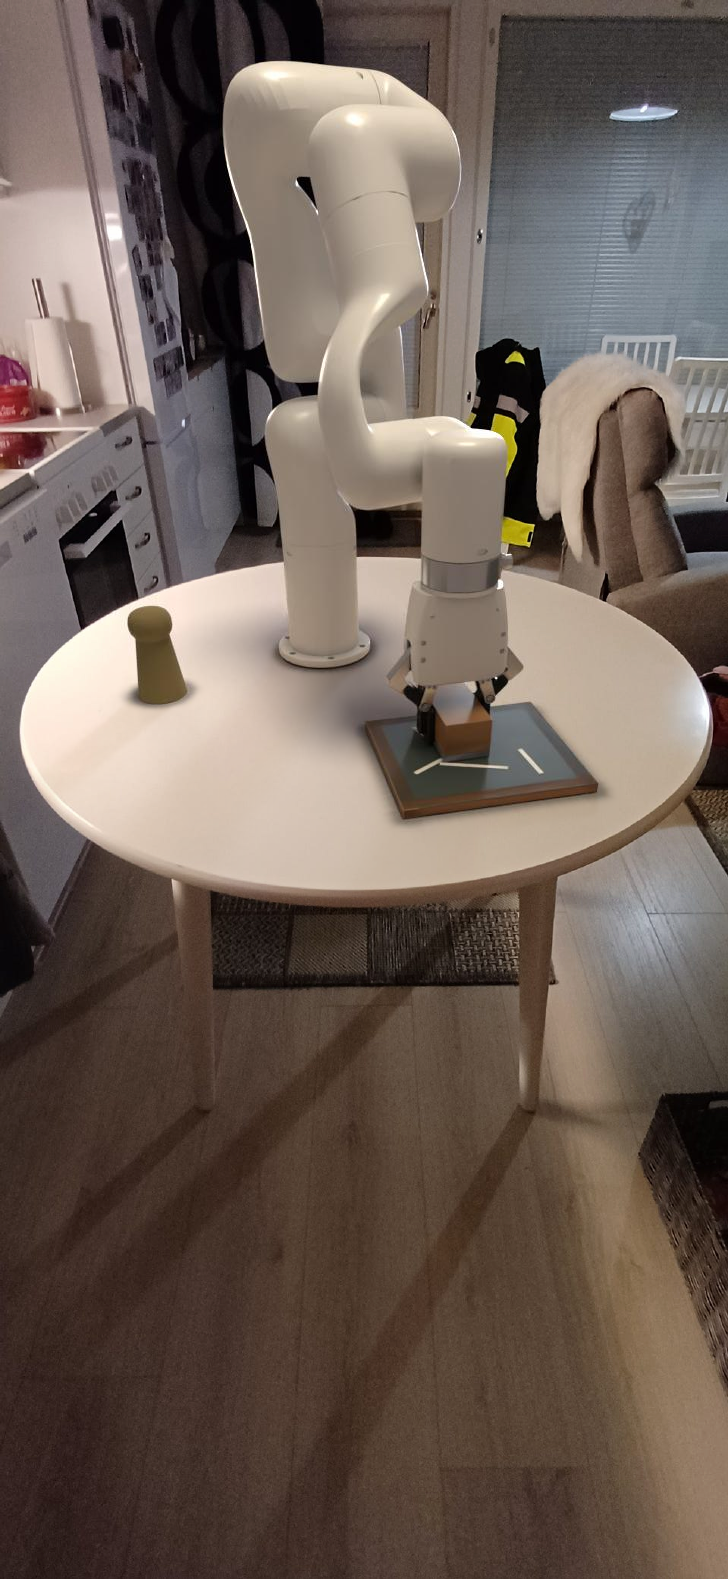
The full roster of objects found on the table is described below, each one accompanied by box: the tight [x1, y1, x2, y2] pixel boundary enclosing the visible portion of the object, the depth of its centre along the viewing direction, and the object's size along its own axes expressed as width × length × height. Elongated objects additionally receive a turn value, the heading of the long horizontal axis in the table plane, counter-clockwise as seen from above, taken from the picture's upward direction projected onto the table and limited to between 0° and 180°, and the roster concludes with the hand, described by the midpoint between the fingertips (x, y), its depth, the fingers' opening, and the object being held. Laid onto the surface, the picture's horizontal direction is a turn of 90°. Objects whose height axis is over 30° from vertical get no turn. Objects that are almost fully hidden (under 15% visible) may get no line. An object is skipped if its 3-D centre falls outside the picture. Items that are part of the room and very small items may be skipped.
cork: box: [126, 605, 188, 705], centre depth 94 cm, size 6×6×11 cm
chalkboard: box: [364, 701, 599, 819], centre depth 83 cm, size 18×20×1 cm
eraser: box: [432, 682, 492, 762], centre depth 84 cm, size 10×5×4 cm, turn 12°
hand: (452, 733), depth 85 cm, fingers closed on eraser, 5 cm apart
